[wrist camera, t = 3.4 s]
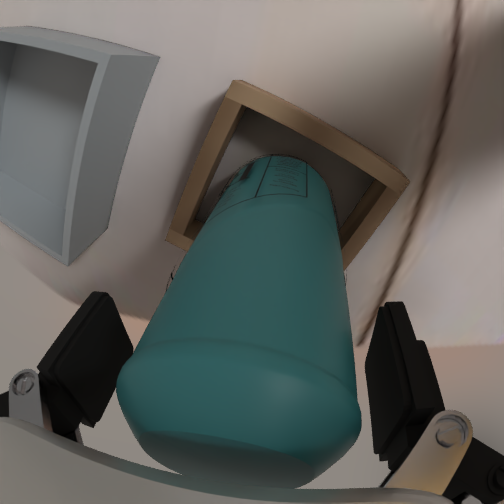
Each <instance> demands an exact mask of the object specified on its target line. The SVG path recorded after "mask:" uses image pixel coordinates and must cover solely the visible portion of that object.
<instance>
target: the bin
mask: <svg viewBox="0 0 504 504" xmlns="http://www.w3.org/2000/svg"><path fill="white" fill-rule="evenodd" d="M159 59H160V57H159V56H156V55H153V54H149V53H146V52H143V51H140V50H137V49H133V48H130V47H126V46H123V45H119V44H115V43H112V42H108V41H104V40H100V39H96V38H91V37H87V36H83V35H78V34H73V33H68V32H63V31H57V30H52V29H45V28H39V27H32V26H15V27H0V221H1V222H2V223H4V224H5V225H7V226H8V227H9V228H11V229H12V230H14V231H15V232H16V233H18V234H19V235H21V236H22V237H24V238H25V239H27V240H28V241H29V242H31V243H32V244H34V245H35V246H37V247H38V248H40V249H41V250H43V251H44V252H46V253H47V254H49V255H51V256H52V257H54V258H55V259H57V260H58V261H60V262H62V263H63V264H65V265H66V266H69V265H70V264H71V263H72V262H73V261H74V260H75V259H76V258H77V257H78V256H79V255H80V254H81V253H82V252H83V251H84V250H85V249H86V248H87V247H88V246H89V245H90V244H91V243H92V242H93V241H95V240H96V239H97V238H98V237H99V236H100V235H101V234H102V233H103V232H104V231H105V230H106V229H107V228H108V223H109V218H110V214H111V209H112V205H113V200H114V196H115V192H116V188H117V184H118V180H119V176H120V173H121V169H122V165H123V162H124V158H125V155H126V151H127V148H128V144H129V141H130V138H131V135H132V132H133V129H134V125H135V122H136V119H137V116H138V114H139V111H140V108H141V105H142V102H143V99H144V97H145V94H146V91H147V89H148V86H149V83H150V81H151V78H152V76H153V73H154V71H155V68H156V66H157V63H158V61H159Z"/></svg>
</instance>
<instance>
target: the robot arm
mask: <svg viewBox="0 0 504 504" xmlns="http://www.w3.org/2000/svg"><path fill="white" fill-rule="evenodd" d="M132 355H133V345H132V343H131V341H130V339H129V336H128V334H127V332H126V330H125V327H124V325H123V322H122V320H121V318H120V315H119V313H118V310H117V308H116V305H115V303H114V300H113V298H112V297H110V295H109V294H108V293H106V292H96V291H94V292H92V293H91V294H90V295H89V297H88V298H87V299H86V300H85V302H84V303H83V304H82V305H81V307H80V308H79V309H78V311H77V312H76V313H75V315H74V316H73V317H72V319H71V320H70V321H69V322H68V324H67V325H66V327H65V328H64V329H63V330H62V332H61V333H60V335H59V336H58V337H57V339H56V340H55V341H54V343H53V344H52V346H51V347H50V349H49V350H48V351H47V353H46V354H45V356H44V357H43V358H42V360H41V361H40V363H39V365H38V366H37V368H38V370H39V371H40V372H39V374H37V373H36V372H35V371H34V370H32V369H25V370H22V371H20V372H18V373H17V374H16V375H15V376H14V377H13V378H12V380H11V382H10V386H9V391H7V392H5V393H3V394H0V504H504V456H503V455H502V454H500V453H498V452H497V451H495V450H493V449H492V448H490V447H488V446H487V445H485V444H483V443H482V442H480V441H479V440H477V439H475V438H474V437H472V436H473V427H472V425H471V422H470V420H469V419H468V418H467V416H465V415H464V414H462V413H461V412H459V411H456V410H445V407H444V403H443V399H442V396H441V392H440V388H439V385H438V381H437V378H436V375H435V372H434V369H433V365H432V362H431V359H430V356H429V353H428V350H427V347H426V344H425V342H424V341H423V340H416V337H415V334H414V331H413V328H412V325H411V322H410V319H409V316H408V313H407V311H406V308H405V305H404V303H403V302H386V303H385V305H384V306H382V307H379V310H378V314H377V318H376V323H375V327H374V331H373V335H372V338H371V342H370V346H369V350H368V353H367V357H366V361H365V373H366V380H367V388H368V397H369V405H370V414H371V425H372V436H373V448H374V453H375V454H379V460H380V461H388V468H389V469H390V470H391V471H390V472H389V474H388V475H387V476H386V477H385V479H384V480H383V481H382V482H381V484H380V485H379V486H378V487H377V488H349V489H289V488H271V487H258V486H248V485H239V484H231V483H224V482H217V481H211V480H205V479H200V478H194V477H189V476H184V475H180V474H175V473H171V472H167V471H162V470H158V469H155V468H151V467H147V466H144V465H140V464H137V463H133V462H130V461H127V460H124V459H120V458H117V457H114V456H111V455H108V454H106V453H103V452H100V451H97V450H95V449H92V448H89V447H87V446H84V445H83V441H82V437H81V433H80V429H79V424H80V422H81V423H82V424H84V425H87V426H89V427H92V428H94V426H95V424H96V422H98V421H100V419H101V417H102V415H103V413H104V411H105V409H106V407H107V405H108V403H109V400H110V398H111V397H112V395H113V392H114V390H115V388H116V384H117V379H118V376H119V373H120V371H121V369H122V367H123V365H124V364H125V363H126V361H127V360H128V359H129V358H130V357H131V356H132Z"/></svg>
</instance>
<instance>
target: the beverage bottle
mask: <svg viewBox="0 0 504 504" xmlns="http://www.w3.org/2000/svg"><path fill="white" fill-rule="evenodd" d="M270 155H271V156H268V157H263V158H260V159H256V160H255V161H254V160H253V161H251V163H249V164H247V163H246V164H247V165H246V166H245V167H243V168H242V169H241V170H240V171H239V172H238V173H237V174H236V176H235V177H234V179H233V180H232V182H231V183H230V185H228V186H227V188H226V189H225V190H226V191H225V192H223V190H224V188H225V187H224V188H223V190H222V191H221V192H223V193H224V194H223V195H222V197H220V199H219V200H218V203H216V204H217V205H216V207H215V208H214V207H213V208H214V210H213V209H212V208H211V209H212V210H213V211H212V213H210V212H209V213H210V214H211V215H209V213H208V214H206V215H205V217H207V216H208V215H209V218H208V219H207V221H206V223H205V224H204V226H201V227H199V228H200V229H201V231H200V232H199V234H197V232H198V231H199V230H200V229H199V230H197V229H198V228H197V229H196V230H197V232H196V231H195V232H196V234H197V235H198V236H197V237H196V236H195V235H194V237H196V239H193V240H195V241H194V242H192V245H190V249H189V250H188V252H187V254H186V255H185V257H184V259H183V261H182V262H181V264H180V266H179V268H178V270H177V272H176V274H175V276H174V279H173V277H172V273H173V272H172V273H171V276H170V277H171V278H172V280H173V281H172V282H171V284H170V286H169V288H168V289H166V293H165V295H164V297H163V298H162V300H161V302H160V304H159V306H158V308H157V309H156V311H155V313H154V315H153V317H152V319H151V320H150V322H149V324H148V326H147V328H146V330H145V332H144V334H143V336H142V338H141V339H140V341H139V343H138V345H137V347H136V349H135V351H134V353H133V355H132V356H131V357H130V358H129V359H128V360H127V361H126V363H125V364H124V365H123V367H122V369H121V371H120V373H119V376H118V379H117V384H116V393H117V397H118V401H119V404H120V407H121V410H122V412H123V414H124V417H125V419H126V421H127V423H128V425H129V427H130V429H131V430H132V432H133V434H134V436H135V438H136V439H137V441H138V442H139V444H140V445H141V447H142V448H143V450H144V451H145V452H146V453H147V454H148V455H149V456H150V457H152V458H153V459H154V460H156V461H157V462H159V463H160V464H162V465H164V466H165V467H167V468H169V469H171V470H173V471H175V472H177V473H180V474H182V475H185V476H189V477H194V478H200V479H205V480H211V481H217V482H224V483H231V484H239V485H248V486H258V487H271V488H289V489H294V488H297V487H301V486H303V485H305V484H307V483H309V482H311V481H312V480H314V479H315V478H316V477H318V476H319V475H321V474H322V473H323V472H325V471H326V470H327V469H328V468H330V467H331V466H332V465H333V464H334V463H336V462H337V461H338V460H339V459H340V458H342V457H343V456H344V455H345V454H346V453H347V451H348V450H349V449H350V448H351V447H352V446H353V445H354V443H355V442H356V440H357V438H358V436H359V434H360V431H361V421H362V420H361V411H360V407H359V404H358V401H357V387H356V374H355V362H354V353H353V342H352V333H351V324H350V316H349V308H348V300H347V293H346V284H345V277H344V271H343V259H342V252H341V247H340V241H339V236H338V235H339V233H338V231H337V225H336V220H335V214H336V213H335V214H334V210H333V205H332V200H331V195H330V192H329V189H328V187H327V185H326V183H325V182H324V180H323V179H322V177H321V176H320V175H319V174H318V173H317V172H316V171H315V170H314V169H313V168H312V167H310V166H309V165H307V162H306V163H304V162H302V161H300V160H297V159H295V158H291V157H286V156H273V154H270ZM280 155H283V154H280ZM263 156H264V155H263ZM288 156H290V155H288ZM260 157H261V156H260ZM293 157H294V156H293ZM256 158H257V157H256ZM296 158H297V157H296ZM254 159H255V158H254ZM298 159H299V158H298ZM301 160H302V159H301ZM303 161H304V160H303ZM244 164H245V163H244ZM243 166H244V165H243ZM240 168H241V167H239V169H240ZM239 169H238V170H239ZM235 172H236V171H235ZM232 176H233V175H232ZM230 179H231V178H230ZM228 182H229V181H228ZM228 182H227V183H228ZM226 185H227V184H226ZM226 185H225V186H226ZM331 192H332V191H331ZM220 194H222V193H220ZM220 194H219V196H221V195H220ZM219 196H218V197H219ZM218 197H217V198H218ZM332 197H333V196H332ZM333 202H334V200H333ZM212 206H213V205H212ZM334 207H336V205H334ZM209 210H210V209H209ZM336 210H337V209H336ZM336 210H335V212H336ZM336 217H337V215H336ZM203 220H204V219H203ZM203 220H202V221H203ZM203 222H204V221H203ZM337 222H338V219H337ZM201 225H203V224H201ZM199 226H200V225H199ZM338 227H339V224H338ZM339 232H340V230H339ZM194 234H195V233H194ZM340 235H341V233H340ZM192 238H193V237H192ZM341 238H342V237H341ZM341 241H343V240H342V239H341ZM188 243H189V242H188ZM342 243H343V242H342ZM343 244H344V243H343ZM186 246H187V245H186ZM184 249H185V248H184ZM344 250H345V248H344ZM344 252H345V251H344ZM346 263H347V261H346ZM174 268H175V267H174ZM173 271H174V270H173ZM346 280H347V275H346ZM168 282H169V281H168ZM167 286H168V284H167Z"/></svg>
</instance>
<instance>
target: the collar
mask: <svg viewBox="0 0 504 504" xmlns="http://www.w3.org/2000/svg"><path fill="white" fill-rule="evenodd" d="M246 107H249V108H251V109H253V110H255V111H257V112H259V113H261V114H263V115H265V116H267V117H269V118H271V119H273V120H275V121H277V122H279V123H281V124H283V125H285V126H287V127H289V128H291V129H293V130H295V131H296V132H298V133H300V134H302V135H304V136H306V137H307V138H309V139H311V140H313V141H315V142H316V143H318V144H320V145H322V146H323V147H325V148H327V149H329V150H330V151H332V152H334V153H335V154H337V155H339V156H340V157H342V158H344V159H345V160H347V161H349V162H350V163H352V164H354V165H355V166H357V167H358V168H360V169H362V170H363V171H365V172H366V173H368V174H369V175H371V176H373V177H374V178H375V179H374V181H373V182H372V184H371V185H370V187H369V188H368V190H367V191H366V193H365V194H364V196H363V197H362V199H361V200H360V202H359V203H358V204H357V206H356V207H355V209H354V210H353V212H352V213H351V215H350V216H349V217H348V219H347V220H346V222H345V223H344V225H343V226H342V227H341V229H340V232H338V233H339V235H338V236H339V241H340V247H341V252H342V259H343V271H344V270H345V269H346V268H347V266H348V265H349V264H350V263H351V261H352V260H353V259H354V258H355V256H356V255H357V254H358V252H359V251H360V250H361V249H362V247H363V246H364V245H365V243H366V242H367V241H368V239H369V238H370V237H371V236H372V234H373V233H374V232H375V230H376V229H377V227H378V226H379V225H380V223H381V222H382V221H383V219H384V218H385V217H386V215H387V214H388V213H389V211H390V210H391V208H392V207H393V206H394V204H395V203H396V201H397V200H398V199H399V197H400V196H401V194H402V193H403V191H404V190H405V189H406V187H407V186H408V184H409V183H410V181H409V180H408V179H407V177H406V176H405V175H404V174H403V173H402V172H401V171H400V170H399V169H398V168H396V167H395V166H393V165H392V164H391V163H389V162H388V161H386V160H385V159H383V158H382V157H380V156H379V155H377V154H376V153H374V152H373V151H371V150H370V149H368V148H367V147H365V146H363V145H362V144H360V143H359V142H357V141H356V140H354V139H352V138H351V137H349V136H347V135H346V134H344V133H343V132H341V131H339V130H337V129H336V128H334V127H332V126H331V125H329V124H327V123H325V122H324V121H322V120H320V119H318V118H317V117H315V116H313V115H311V114H309V113H308V112H306V111H304V110H302V109H300V108H298V107H296V106H294V105H292V104H291V103H289V102H287V101H285V100H283V99H281V98H279V97H277V96H275V95H273V94H271V93H268V92H266V91H264V90H262V89H260V88H258V87H256V86H254V85H251V84H249V83H247V82H245V81H243V80H233V81H232V83H231V85H230V87H229V89H228V91H227V93H226V95H225V97H224V99H223V101H222V104H221V106H220V108H219V110H218V112H217V114H216V116H215V119H214V121H213V123H212V125H211V127H210V130H209V132H208V134H207V136H206V139H205V141H204V143H203V145H202V148H201V150H200V152H199V155H198V157H197V160H196V162H195V164H194V167H193V169H192V172H191V174H190V176H189V179H188V181H187V184H186V186H185V189H184V191H183V194H182V196H181V199H180V202H179V204H178V207H177V209H176V212H175V215H174V217H173V220H172V223H171V225H170V228H169V231H168V234H167V236H166V239H165V240H166V241H168V242H170V243H171V244H173V245H175V246H177V247H179V248H181V249H183V250H185V251H187V252H188V250H189V249H190V245H192V242H194V241H195V240H193V239H196V237H197V236H198V235H197V234H199V232H200V231H201V229H200V228H199V227H201V226H204V224H203V223H201V222H199V221H197V220H195V217H196V215H197V213H198V210H199V208H200V206H201V203H202V201H203V199H204V196H205V194H206V192H207V190H208V187H209V185H210V183H211V181H212V179H213V176H214V174H215V172H216V170H217V168H218V165H219V163H220V161H221V159H222V157H223V155H224V152H225V150H226V148H227V146H228V144H229V142H230V140H231V138H232V136H233V134H234V132H235V129H236V127H237V125H238V123H239V121H240V119H241V117H242V115H243V113H244V111H245V109H246ZM201 224H203V225H201ZM199 225H200V226H199ZM197 228H198V229H197ZM196 229H197V230H199V229H200V230H199V231H198V232H197V230H196ZM195 231H196V232H197V234H196V232H195ZM194 233H195V234H194ZM340 233H341V235H340ZM194 235H195V236H196V237H194ZM192 237H193V238H192ZM341 237H342V238H341ZM341 239H342V240H343V241H341ZM188 242H189V243H188ZM342 242H343V243H344V244H343V243H342ZM186 245H187V246H186ZM184 248H185V249H184ZM344 248H345V250H344ZM344 251H345V252H344ZM346 261H347V263H346Z"/></svg>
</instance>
